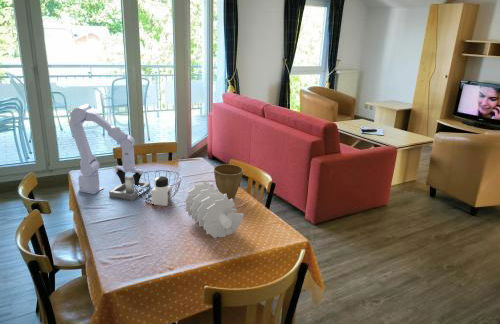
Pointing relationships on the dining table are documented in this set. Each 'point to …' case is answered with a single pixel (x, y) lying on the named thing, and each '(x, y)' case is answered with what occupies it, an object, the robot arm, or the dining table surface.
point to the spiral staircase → (212, 210)
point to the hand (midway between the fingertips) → (130, 184)
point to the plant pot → (228, 179)
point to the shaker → (129, 184)
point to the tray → (121, 192)
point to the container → (161, 191)
